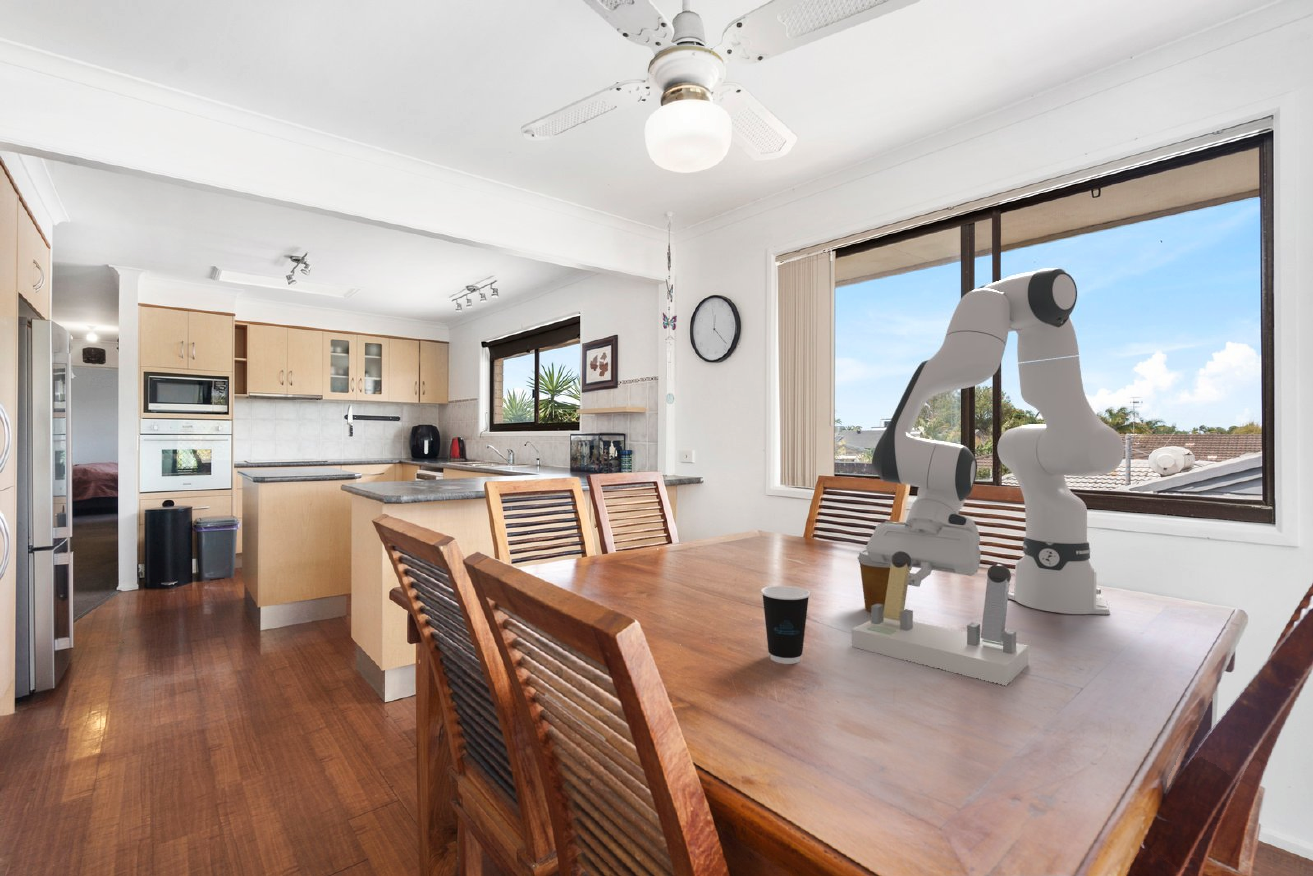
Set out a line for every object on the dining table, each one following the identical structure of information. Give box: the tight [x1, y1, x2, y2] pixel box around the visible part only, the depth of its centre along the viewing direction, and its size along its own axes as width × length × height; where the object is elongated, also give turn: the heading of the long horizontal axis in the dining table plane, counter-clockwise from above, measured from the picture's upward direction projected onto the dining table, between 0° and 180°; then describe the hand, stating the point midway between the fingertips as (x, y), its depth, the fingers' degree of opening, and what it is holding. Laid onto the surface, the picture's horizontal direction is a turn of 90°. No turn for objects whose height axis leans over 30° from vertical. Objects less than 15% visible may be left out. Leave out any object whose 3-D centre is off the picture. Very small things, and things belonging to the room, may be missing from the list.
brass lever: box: [883, 551, 911, 621], centre depth 111 cm, size 3×3×12 cm
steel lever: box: [980, 563, 1012, 643], centre depth 99 cm, size 3×3×12 cm
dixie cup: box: [760, 585, 811, 665], centre depth 101 cm, size 8×8×11 cm
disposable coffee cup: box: [857, 549, 891, 613], centre depth 129 cm, size 10×10×12 cm
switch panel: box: [851, 604, 1029, 687], centre depth 103 cm, size 12×24×6 cm, turn 46°
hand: (909, 583), depth 115 cm, fingers closed
